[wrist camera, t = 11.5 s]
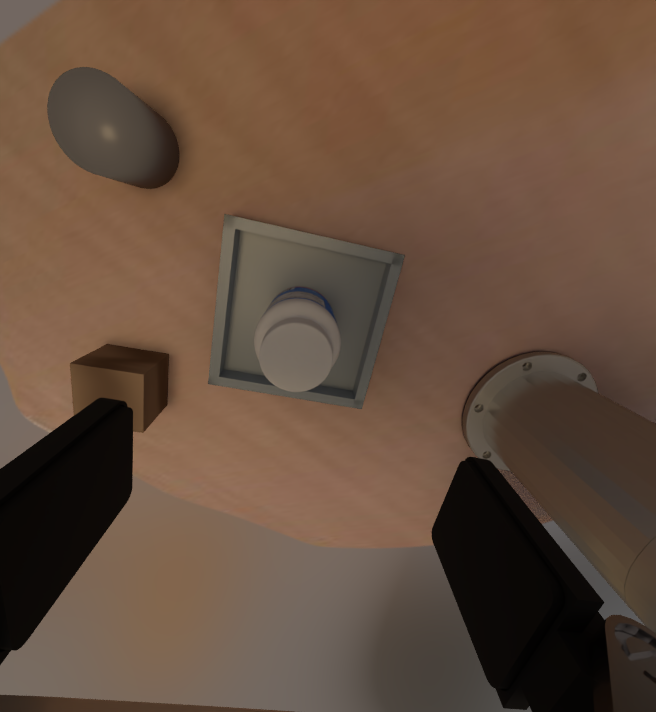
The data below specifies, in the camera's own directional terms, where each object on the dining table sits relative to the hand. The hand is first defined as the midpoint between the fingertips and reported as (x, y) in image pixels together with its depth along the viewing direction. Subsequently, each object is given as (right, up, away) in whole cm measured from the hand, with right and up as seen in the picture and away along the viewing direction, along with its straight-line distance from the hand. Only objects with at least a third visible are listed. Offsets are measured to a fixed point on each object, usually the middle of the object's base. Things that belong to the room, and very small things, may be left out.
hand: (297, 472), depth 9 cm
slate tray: (-1, +7, +18) cm, 19 cm away
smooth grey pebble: (-12, +18, +13) cm, 25 cm away
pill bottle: (-1, +7, +17) cm, 19 cm away
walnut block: (-16, +2, +19) cm, 25 cm away
